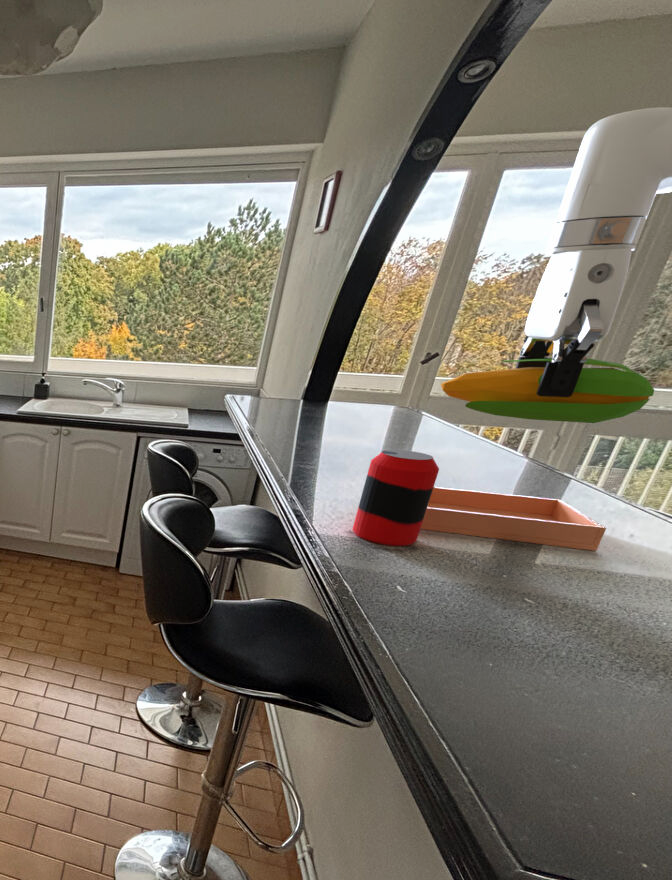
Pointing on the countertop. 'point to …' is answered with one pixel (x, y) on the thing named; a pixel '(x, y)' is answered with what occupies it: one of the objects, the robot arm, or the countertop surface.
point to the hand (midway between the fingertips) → (538, 391)
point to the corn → (516, 397)
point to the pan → (511, 518)
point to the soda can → (395, 497)
